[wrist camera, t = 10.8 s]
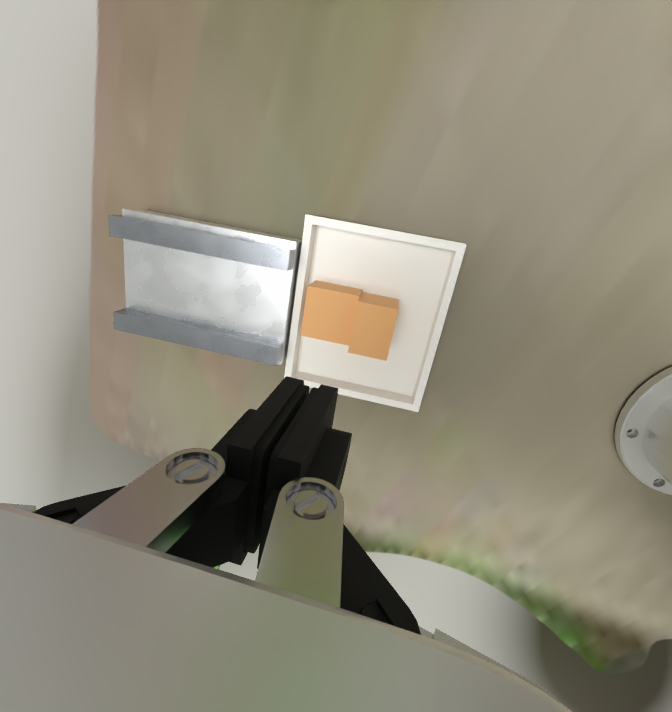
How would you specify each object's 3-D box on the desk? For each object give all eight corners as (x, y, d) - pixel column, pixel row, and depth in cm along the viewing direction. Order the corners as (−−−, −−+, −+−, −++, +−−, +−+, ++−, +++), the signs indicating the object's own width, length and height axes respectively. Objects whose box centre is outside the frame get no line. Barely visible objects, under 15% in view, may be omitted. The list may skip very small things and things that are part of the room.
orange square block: (362, 291, 30) (398, 299, 30) (353, 337, 31) (387, 344, 31) (357, 301, 26) (398, 309, 26) (347, 352, 28) (386, 360, 27)
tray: (462, 242, 28) (466, 244, 26) (417, 401, 33) (418, 412, 31) (311, 214, 29) (305, 214, 27) (289, 372, 34) (283, 381, 32)
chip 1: (362, 289, 30) (359, 296, 27) (354, 335, 31) (349, 346, 29) (315, 280, 30) (307, 285, 27) (309, 325, 32) (300, 335, 29)
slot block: (305, 240, 30) (290, 242, 26) (290, 352, 33) (275, 371, 29) (146, 209, 31) (107, 207, 27) (148, 321, 35) (114, 334, 30)
